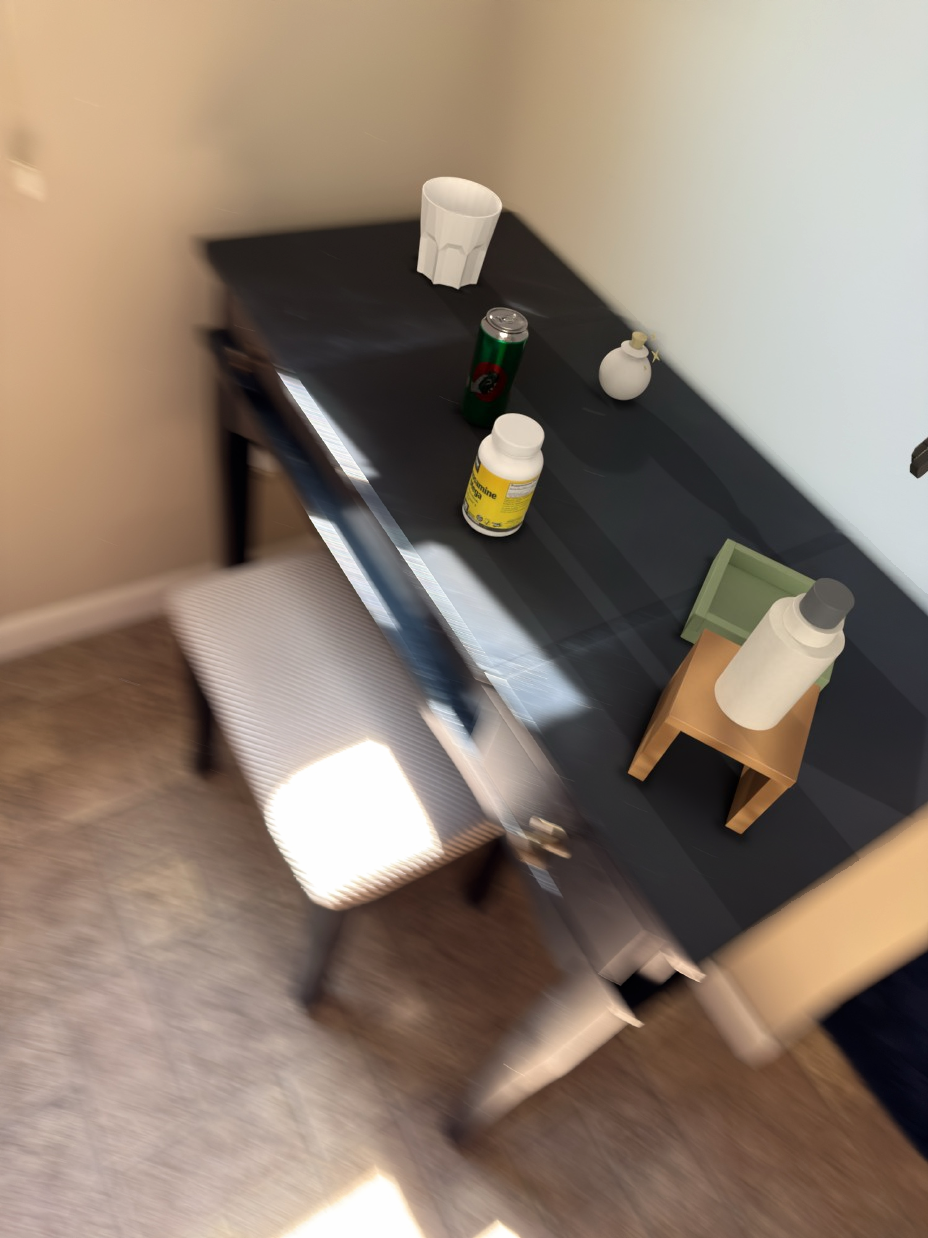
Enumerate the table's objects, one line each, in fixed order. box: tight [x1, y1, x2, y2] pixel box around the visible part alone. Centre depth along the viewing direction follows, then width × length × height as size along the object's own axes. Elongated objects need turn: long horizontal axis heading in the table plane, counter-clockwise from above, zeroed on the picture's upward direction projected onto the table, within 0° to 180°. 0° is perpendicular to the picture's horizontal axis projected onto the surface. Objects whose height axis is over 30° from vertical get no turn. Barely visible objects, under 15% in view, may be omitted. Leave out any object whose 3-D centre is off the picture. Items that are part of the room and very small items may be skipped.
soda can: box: [459, 307, 530, 428], centre depth 92 cm, size 5×5×12 cm
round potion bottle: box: [598, 331, 661, 401], centre depth 100 cm, size 6×7×10 cm
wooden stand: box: [627, 628, 821, 835], centre depth 69 cm, size 10×10×9 cm
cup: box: [416, 176, 503, 290], centre depth 111 cm, size 10×10×10 cm
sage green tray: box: [680, 538, 847, 692], centre depth 83 cm, size 13×12×4 cm
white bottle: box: [714, 577, 856, 730], centre depth 61 cm, size 5×5×12 cm
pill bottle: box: [462, 412, 545, 537], centre depth 82 cm, size 6×6×11 cm
